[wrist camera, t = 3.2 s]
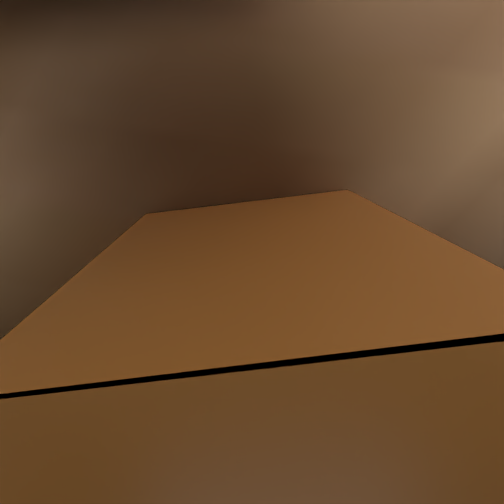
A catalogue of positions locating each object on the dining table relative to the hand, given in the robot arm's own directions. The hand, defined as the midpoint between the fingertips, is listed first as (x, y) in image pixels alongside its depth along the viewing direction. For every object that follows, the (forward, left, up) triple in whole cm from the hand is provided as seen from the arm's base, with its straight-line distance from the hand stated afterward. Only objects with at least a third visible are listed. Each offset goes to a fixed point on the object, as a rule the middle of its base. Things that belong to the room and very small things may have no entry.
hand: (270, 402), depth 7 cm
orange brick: (0, 0, -1) cm, 1 cm away
